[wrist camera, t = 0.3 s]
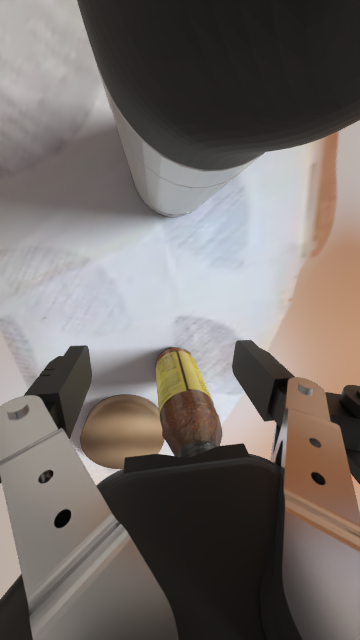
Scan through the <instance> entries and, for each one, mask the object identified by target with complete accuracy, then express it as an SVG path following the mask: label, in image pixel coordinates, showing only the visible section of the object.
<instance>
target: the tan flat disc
mask: <svg viewBox="0 0 360 640" xmlns="http://www.w3.org/2000/svg"><path fill="white" fill-rule="evenodd" d="M80 443H81V447H82V450H83V452H84V453H85V455H86V456H87V457H88V458H89V459H90V460H92V461H93V462H95V463H96V464H98V465H101V466H104V467H107V468H112V469H124V460H125V457H133V456H142V455H150V454H158V453H159V451H160V450H161V448H162V446H163V443H164V438H163V436H162V426H161V422H160V416H159V408H158V407H157V406H156V405H155V404H154V403H152V402H151V401H149V400H148V399H145V398H143V397H140V396H136V395H117V396H112V397H109V398H107V399H105V400H103V401H101V402H99V403H98V404H97V405H96V406H94V408H93V409H92V410H91V411H90V413H89V415H88V417H87V420H86V422H85V425H84V428H83V430H82V433H81V437H80Z"/></svg>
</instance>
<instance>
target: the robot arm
mask: <svg viewBox="0 0 360 640" xmlns="http://www.w3.org/2000/svg"><path fill="white" fill-rule="evenodd" d="M77 1H78V5H79V9H80V12H81V15H82V18H83V22H84V25H85V28H86V32H87V35H88V38H89V41H90V44H91V47H92V50H93V53H94V56H95V60H96V63H97V67H98V70H99V73H100V76H101V79H102V82H103V86H104V89H105V92H106V95H107V98H108V101H109V105H110V108H111V110H112V113H113V116H114V120H115V123H116V126H117V129H118V132H119V136H120V139H121V142H122V145H123V148H124V151H125V155H126V158H127V161H128V164H129V167H130V171H131V174H132V177H133V180H134V183H135V186H136V189H137V191H138V193H139V195H140V197H141V198H142V199H143V201H144V202H145V203H146V204H147V205H148V206H149V207H150V208H151V209H152V210H154V211H156V212H157V213H159V214H162V215H165V216H169V217H178V216H184V215H186V214H188V213H191V212H192V211H193V210H195V209H196V208H198V207H199V206H200V205H201V204H203V203H204V202H205V201H206V200H208V199H209V198H210V197H211V196H213V195H214V194H215V193H216V192H217V191H219V190H220V189H221V188H222V187H224V186H225V185H226V184H227V183H229V182H230V181H231V180H232V179H233V178H235V177H236V176H237V175H238V174H239V173H241V172H242V171H243V170H244V169H245V168H247V167H248V166H249V165H250V164H251V163H253V162H254V161H255V160H256V159H258V158H259V157H260V156H261V155H263V154H264V153H265V152H267V151H274V150H281V149H286V148H291V147H295V146H299V145H303V144H307V143H310V142H313V141H315V140H318V139H321V138H324V137H326V136H328V135H330V134H333V133H335V132H337V131H339V130H341V129H343V128H345V127H347V126H349V125H351V124H353V123H355V122H357V121H359V120H360V0H77ZM232 369H233V373H234V375H235V377H236V379H237V380H238V382H239V383H240V385H241V386H242V388H243V389H244V391H245V392H246V394H247V396H248V397H249V399H250V400H251V402H252V403H253V405H254V406H255V408H256V409H257V411H258V413H259V414H260V416H261V417H262V418H263V420H264V421H272V420H275V422H276V427H275V430H274V439H273V446H272V453H271V461H269V460H267V459H265V458H262V457H259V456H256V455H252V454H248V452H247V450H246V448H245V445H244V444H235V445H226V446H218V447H214V448H212V449H209V450H207V451H205V452H202V453H200V454H197V455H195V456H193V457H190V458H183V457H176V456H169V455H161V454H150V455H142V456H133V457H125V460H124V469H122V470H120V471H117V472H116V473H114V474H112V475H110V476H109V477H107V478H106V479H104V480H103V481H101V482H100V483H99V484H98V485H97V486H96V485H95V483H94V481H93V480H92V478H91V476H90V474H89V473H88V471H87V469H86V468H85V466H84V464H83V462H82V461H81V459H80V457H79V455H78V454H77V452H76V450H75V449H74V447H73V445H72V443H71V442H70V440H69V439H70V437H71V434H72V431H73V429H74V426H75V423H76V421H77V418H78V415H79V413H80V410H81V408H82V405H83V402H84V400H85V397H86V394H87V392H88V389H89V387H90V384H91V379H92V371H91V363H90V356H89V349H88V346H70V347H69V349H68V350H67V352H66V353H65V355H64V356H58V357H57V358H55V359H54V360H52V361H51V362H49V364H48V365H47V366H46V368H45V369H44V371H42V373H41V374H40V376H39V377H38V378H37V379H36V380H35V382H34V383H33V384H32V386H31V387H30V388H29V389H28V391H27V392H26V393H25V395H24V396H22V397H18V398H15V399H13V400H10V401H8V402H6V403H5V404H3V405H2V406H0V483H2V485H3V490H4V495H5V499H6V504H7V508H8V513H9V517H10V522H11V527H12V531H13V536H14V541H15V545H16V550H17V554H18V559H19V564H20V568H21V573H22V574H21V575H20V576H19V578H18V579H17V580H16V581H15V582H14V584H13V585H12V586H11V587H10V588H9V590H8V591H7V592H6V593H5V595H4V596H3V597H2V598H1V599H0V640H360V512H359V508H358V504H357V499H356V495H355V490H354V486H353V482H352V477H351V474H352V476H354V478H355V479H356V480H357V482H358V483H359V484H360V386H356V385H347V386H345V387H344V389H343V392H342V394H334V393H328V392H325V391H324V389H323V388H322V387H321V386H319V385H318V384H317V383H315V382H313V381H310V380H308V379H305V378H300V377H294V376H293V375H292V374H291V373H290V372H289V371H288V370H287V369H286V368H285V367H284V366H283V365H281V364H280V363H279V362H278V361H277V360H276V359H275V358H274V357H273V356H272V355H271V354H270V353H268V352H267V351H265V350H263V349H261V348H259V347H258V346H257V345H256V344H255V343H254V342H253V341H251V340H239V341H237V342H236V345H235V351H234V357H233V364H232Z"/></svg>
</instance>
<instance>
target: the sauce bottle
mask: <svg viewBox="0 0 360 640" xmlns="http://www.w3.org/2000/svg"><path fill="white" fill-rule="evenodd" d="M156 383H157V393H158V405H159V416H160V422H161V426H162V436H163V438H164V439H165V440H166V442H167V443H168V445H169V447H170V449H171V450H172V452H173V454H174V455H175V456H176V457H183V458H190V457H193V456H195V455H197V454H200V453H202V452H205V451H207V450H209V449H212V448H214V447H218V446H220V443H221V438H222V428H221V424H220V420H219V416H218V415H217V413H216V410H215V408H214V404H213V401H212V399H211V396H210V394H209V392H208V389H207V387H206V385H205V382H204V380H203V378H202V376H201V373H200V371H199V368H198V366H197V364H196V361H195V360H194V358H193V357H192V356H191V354H190V353H189V352H188V351H187V350H185V349H181V348H175V347H174V348H170V349H168V350H166V351H164V352H163V353H162V354H161V355H160V356H159V357H158V360H157V363H156Z"/></svg>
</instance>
